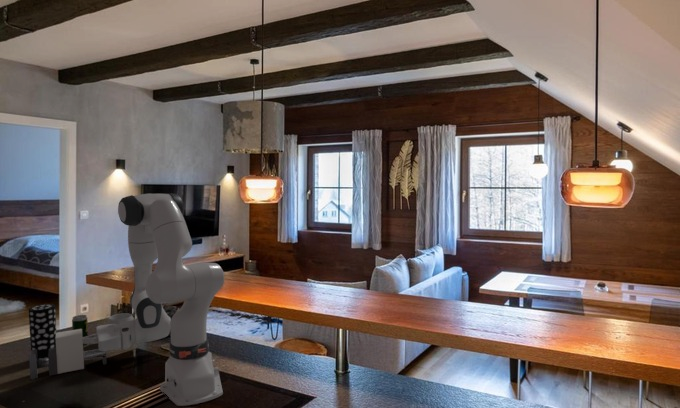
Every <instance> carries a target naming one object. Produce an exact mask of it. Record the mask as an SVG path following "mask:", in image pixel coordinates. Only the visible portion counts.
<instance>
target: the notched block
mask: <svg viewBox="0 0 680 408" xmlns="http://www.w3.org/2000/svg"><path fill="white" fill-rule="evenodd" d="M83 352H84V347H83V337H82V329H77V330H72V329H70V330H65V331H57V333H56V355H57V373H58V374H57V375H59V374H63V373H68V372H69V373H70V372H73V371H79V370H84V369H85V360H84V357H83Z"/></svg>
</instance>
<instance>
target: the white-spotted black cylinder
mask: <svg viewBox="0 0 680 408" xmlns="http://www.w3.org/2000/svg"><path fill="white" fill-rule="evenodd" d="M56 317H57V316H56V305H55V304H54V303H44V304H38V305H33V306H31V307H29V308H28V322H29V325H28V328H29V341H30V350H35V349H37V358H38V360H39V359H44V358H48V353H49V349H52V348H56V333H58V331H57V318H56Z"/></svg>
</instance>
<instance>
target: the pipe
mask: <svg viewBox="0 0 680 408" xmlns="http://www.w3.org/2000/svg"><path fill="white" fill-rule="evenodd" d="M83 357H84V361H86V360H92V359H98V358H102V363H103V365H104V366H105V365H107V362H108V361H107V351H99V348H96V349H95V348H94V349H91V350H83ZM28 359H29V360H28V363H29V377H30V378H29V379H32V380H36V379H35V378H37V379H38V378H39V369H43V368H49V361H48V358H44V359H39V360H38V358H37V349H35V350H31V349H30V350H29V354H28Z"/></svg>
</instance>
